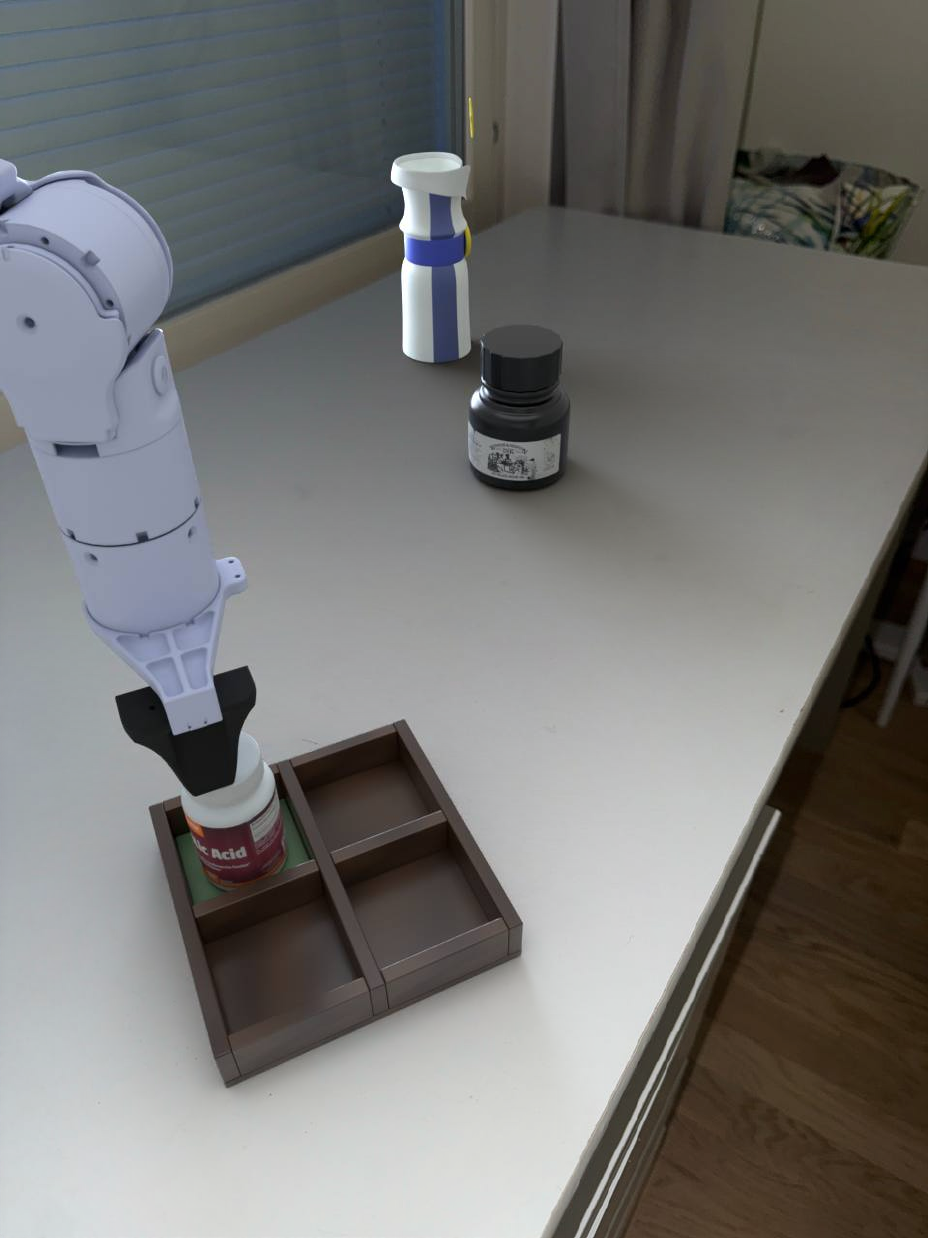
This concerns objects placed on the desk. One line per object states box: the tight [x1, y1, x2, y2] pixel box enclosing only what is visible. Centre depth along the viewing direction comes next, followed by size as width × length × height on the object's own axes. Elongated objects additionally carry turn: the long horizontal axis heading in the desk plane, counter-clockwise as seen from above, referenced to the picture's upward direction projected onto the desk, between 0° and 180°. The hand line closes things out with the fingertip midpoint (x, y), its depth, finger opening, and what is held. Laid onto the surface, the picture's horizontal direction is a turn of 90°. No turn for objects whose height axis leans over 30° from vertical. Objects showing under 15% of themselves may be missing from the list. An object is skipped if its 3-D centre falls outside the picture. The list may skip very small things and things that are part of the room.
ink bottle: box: [467, 323, 572, 490], centre depth 80 cm, size 10×9×12 cm
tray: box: [148, 718, 524, 1089], centre depth 49 cm, size 15×15×3 cm
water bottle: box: [390, 97, 475, 364], centre depth 96 cm, size 8×9×25 cm
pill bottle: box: [180, 730, 288, 892], centre depth 48 cm, size 5×5×8 cm
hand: (195, 731), depth 47 cm, fingers open, 7 cm apart
